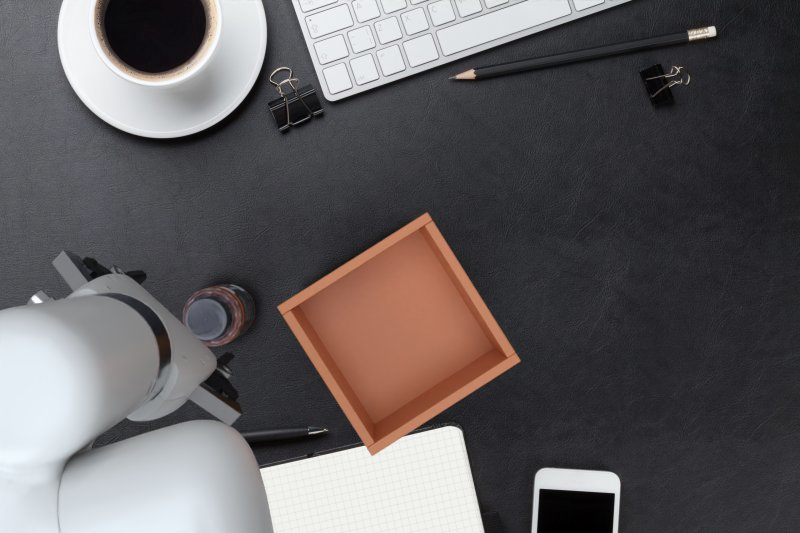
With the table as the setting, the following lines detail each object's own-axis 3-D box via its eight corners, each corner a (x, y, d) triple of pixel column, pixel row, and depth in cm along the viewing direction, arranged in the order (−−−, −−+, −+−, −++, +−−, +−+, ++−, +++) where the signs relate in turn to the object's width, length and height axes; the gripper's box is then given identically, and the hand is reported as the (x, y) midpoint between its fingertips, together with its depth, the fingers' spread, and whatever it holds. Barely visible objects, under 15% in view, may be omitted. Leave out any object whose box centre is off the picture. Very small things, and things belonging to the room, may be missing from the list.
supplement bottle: (232, 272, 83) (210, 274, 72) (267, 314, 83) (251, 322, 72) (190, 307, 83) (161, 314, 72) (225, 349, 83) (202, 363, 72)
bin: (504, 349, 60) (521, 361, 53) (371, 434, 60) (372, 456, 53) (420, 217, 60) (427, 211, 53) (287, 301, 59) (276, 306, 53)
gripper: (-49, 302, 45) (66, 288, 62) (168, 499, 46) (222, 431, 63) (39, 210, 45) (129, 221, 62) (254, 408, 46) (284, 365, 63)
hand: (176, 326), depth 62 cm, fingers open, 9 cm apart
